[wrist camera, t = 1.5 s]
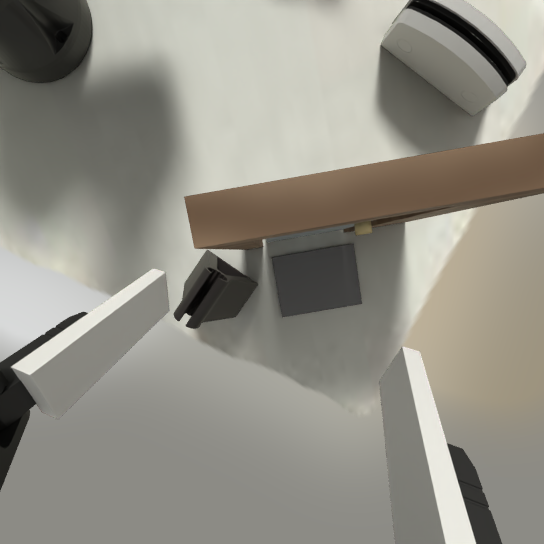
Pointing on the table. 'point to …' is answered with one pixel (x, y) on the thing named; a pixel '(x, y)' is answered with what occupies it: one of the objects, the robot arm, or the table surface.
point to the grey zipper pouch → (455, 51)
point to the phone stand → (213, 291)
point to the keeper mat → (317, 280)
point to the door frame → (369, 194)
